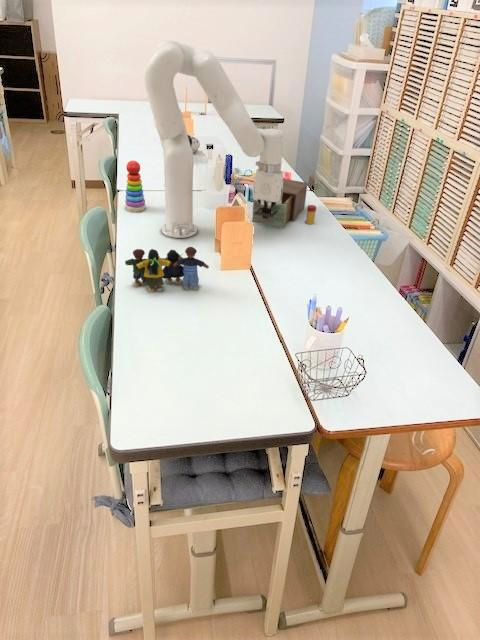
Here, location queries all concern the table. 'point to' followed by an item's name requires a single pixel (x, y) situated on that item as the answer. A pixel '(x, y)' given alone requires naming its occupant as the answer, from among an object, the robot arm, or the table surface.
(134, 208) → the stacking toy
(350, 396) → the table surface
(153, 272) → the doll family
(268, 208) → the robot arm
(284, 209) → the drawer
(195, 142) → the paint bucket
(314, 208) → the glue stick
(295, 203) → the cabinet
